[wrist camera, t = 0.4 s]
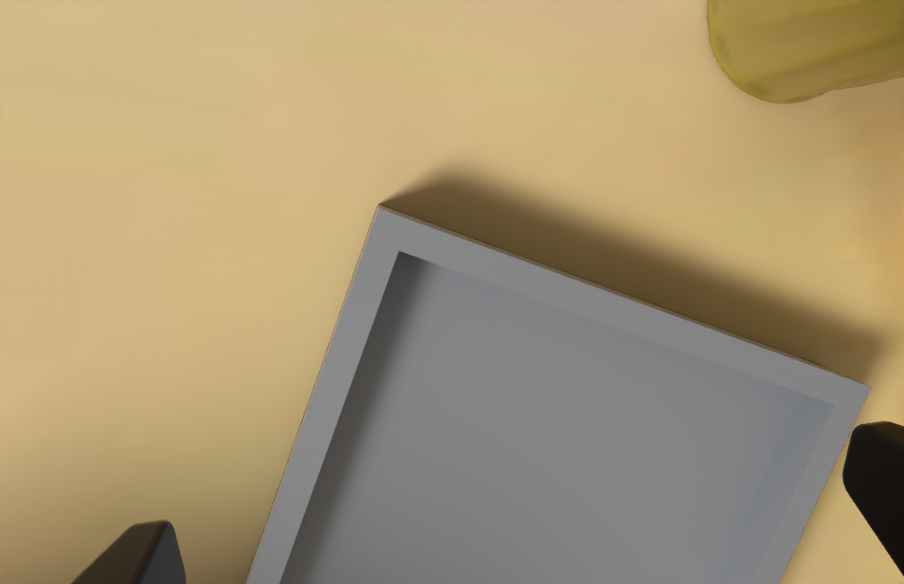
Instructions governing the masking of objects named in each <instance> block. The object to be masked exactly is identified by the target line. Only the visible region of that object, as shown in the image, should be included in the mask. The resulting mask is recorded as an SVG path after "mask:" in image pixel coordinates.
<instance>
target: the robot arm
mask: <svg viewBox="0 0 904 584" xmlns="http://www.w3.org/2000/svg"><path fill="white" fill-rule="evenodd" d="M842 475H843V483H844V486H845V488H846V491H847V492H848V494H849V496H850V497H851V499H852V500H853V502H854V503H855V505H856V506H857V507H858V509H859V510H860V512H861V513H862V515H863V516H864V518H865V519H866V521H867V522H868V524H869V525H870V527H871V528H872V530H873V531H874V533H875V534H876V536H877V537H878V539H879V540H880V542H881V543H882V545H883V546H884V548H885V549H886V551H887V552H888V554H889V555H890V557H891V558H892V560H893V561H894V563H895V564H896V566H897V567H898V569H899V570H900V571H901V573H902V574H903V576H904V426H901V425H898V424H895V423H892V422H887V421H881V422H873V423H866V424H861V425H859V426H857V427H856V428H855V429H854V430H853V432H852V435H851V438H850V443H849V447H848V451H847V455H846V460H845V464H844V468H843V474H842ZM70 584H186V577H185V570H184V566H183V562H182V558H181V554H180V550H179V546H178V543H177V539H176V535H175V531H174V528H173V526H172V524H171V523H170V522H169V521H167V520H158V521H150V522H143V523H137V524H134V525H132V526H131V527H129V528H128V529H127V530H126V531H125V532H124V533H123V534H122V535H121V536H120V537H119V538H117V539H116V540H115V541H114V542H113V543H112V544H111V545H110V546H109V547H108V548H107V549H106V550H105V551H104V552H103V553H102V554H101V555H99V556H98V557H97V558H96V559H95V560H94V561H93V562H92V563H91V564H90V565H89V566H88V567H87V568H86V569H85V570H84V571H83V572H82V573H80V574H79V575H78V576H77V577H76V578H75V579H74V580H73V581H72V582H71V583H70Z"/></svg>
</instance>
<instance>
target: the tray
mask: <svg viewBox="0 0 904 584" xmlns="http://www.w3.org/2000/svg"><path fill="white" fill-rule="evenodd" d="M870 389H871V387H869V386H867V385H865V384H862V383H860V382H858V381H856V380H853V379H851V378H849V377H846V376H844V375H842V374H840V373H837V372H835V371H833V370H831V369H828V368H826V367H824V366H821V365H818V364H815V363H813V362H810V361H807V360H804V359H802V358H799V357H796V356H794V355H791V354H788V353H785V352H783V351H780V350H777V349H774V348H772V347H769V346H766V345H763V344H761V343H758V342H755V341H752V340H750V339H747V338H744V337H741V336H739V335H736V334H733V333H730V332H728V331H725V330H722V329H719V328H717V327H714V326H711V325H708V324H706V323H703V322H700V321H697V320H695V319H692V318H689V317H686V316H684V315H681V314H678V313H676V312H673V311H670V310H667V309H665V308H662V307H659V306H656V305H654V304H651V303H648V302H645V301H643V300H640V299H637V298H634V297H632V296H629V295H626V294H623V293H621V292H618V291H615V290H612V289H610V288H607V287H604V286H601V285H599V284H596V283H593V282H590V281H588V280H585V279H582V278H579V277H577V276H574V275H571V274H568V273H566V272H563V271H560V270H558V269H555V268H552V267H549V266H547V265H544V264H541V263H538V262H536V261H533V260H530V259H527V258H525V257H522V256H519V255H516V254H514V253H511V252H508V251H505V250H503V249H500V248H497V247H494V246H492V245H489V244H486V243H483V242H481V241H478V240H475V239H472V238H470V237H467V236H464V235H461V234H459V233H456V232H453V231H450V230H448V229H445V228H442V227H440V226H437V225H434V224H431V223H429V222H426V221H423V220H420V219H418V218H415V217H412V216H409V215H407V214H404V213H401V212H398V211H396V210H393V209H390V208H387V207H385V206H382V205H379V204H378V206H377V209H376V211H375V214H374V217H373V220H372V223H371V226H370V229H369V231H368V234H367V237H366V240H365V243H364V246H363V248H362V251H361V254H360V257H359V260H358V263H357V266H356V268H355V271H354V274H353V277H352V280H351V283H350V286H349V288H348V291H347V294H346V297H345V300H344V303H343V305H342V308H341V311H340V314H339V317H338V320H337V323H336V325H335V328H334V331H333V334H332V337H331V340H330V342H329V345H328V348H327V351H326V354H325V357H324V360H323V362H322V365H321V368H320V371H319V374H318V377H317V379H316V382H315V385H314V388H313V391H312V394H311V397H310V399H309V402H308V405H307V408H306V411H305V414H304V416H303V419H302V422H301V425H300V428H299V431H298V434H297V436H296V439H295V442H294V445H293V448H292V451H291V453H290V456H289V459H288V462H287V465H286V468H285V471H284V473H283V476H282V479H281V482H280V485H279V488H278V490H277V493H276V496H275V499H274V502H273V505H272V508H271V510H270V513H269V516H268V519H267V522H266V525H265V528H264V530H263V533H262V536H261V539H260V542H259V545H258V547H257V550H256V553H255V556H254V559H253V562H252V565H251V567H250V570H249V573H248V576H247V579H246V582H245V584H779V582H780V580H781V578H782V575H783V573H784V571H785V569H786V567H787V565H788V563H789V561H790V559H791V556H792V554H793V552H794V550H795V548H796V546H797V544H798V542H799V539H800V537H801V535H802V533H803V531H804V529H805V527H806V525H807V523H808V520H809V518H810V516H811V514H812V512H813V510H814V508H815V506H816V503H817V501H818V499H819V497H820V495H821V493H822V491H823V489H824V487H825V484H826V482H827V480H828V478H829V476H830V474H831V472H832V470H833V468H834V465H835V463H836V461H837V459H838V457H839V455H840V453H841V451H842V448H843V446H844V444H845V442H846V440H847V438H848V436H849V434H850V432H851V429H852V427H853V425H854V423H855V421H856V419H857V417H858V415H859V412H860V410H861V408H862V406H863V404H864V402H865V400H866V398H867V396H868V393H869V391H870Z"/></svg>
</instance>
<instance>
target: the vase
mask: <svg viewBox="0 0 904 584" xmlns="http://www.w3.org/2000/svg"><path fill="white" fill-rule="evenodd" d="M707 22H708V31H709V39H710V44H711V47H712V50H713V53H714V55H715V57H716V60H717V62H718V63H719V65H720V67H721V68H722V70H723V71H724V72H725V74H726V75H727V76H728V78H729V79H730V80H731V81H732V82H733V83H734V84H735V85H736V86H738V87H739V88H740V89H742V90H743V91H745V92H747V93H748V94H750V95H752V96H755V97H757V98H759V99H762V100H765V101H768V102H773V103H795V102H802V101H806V100H810V99H812V98H815V97H817V96H819V95H822V94H824V93H826V92H828V91H831V90H837V89H845V88H852V87H858V86H864V85H869V84H874V83H878V82H883V81H887V80H891V79H895V78H899V77H903V76H904V0H708V2H707Z"/></svg>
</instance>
